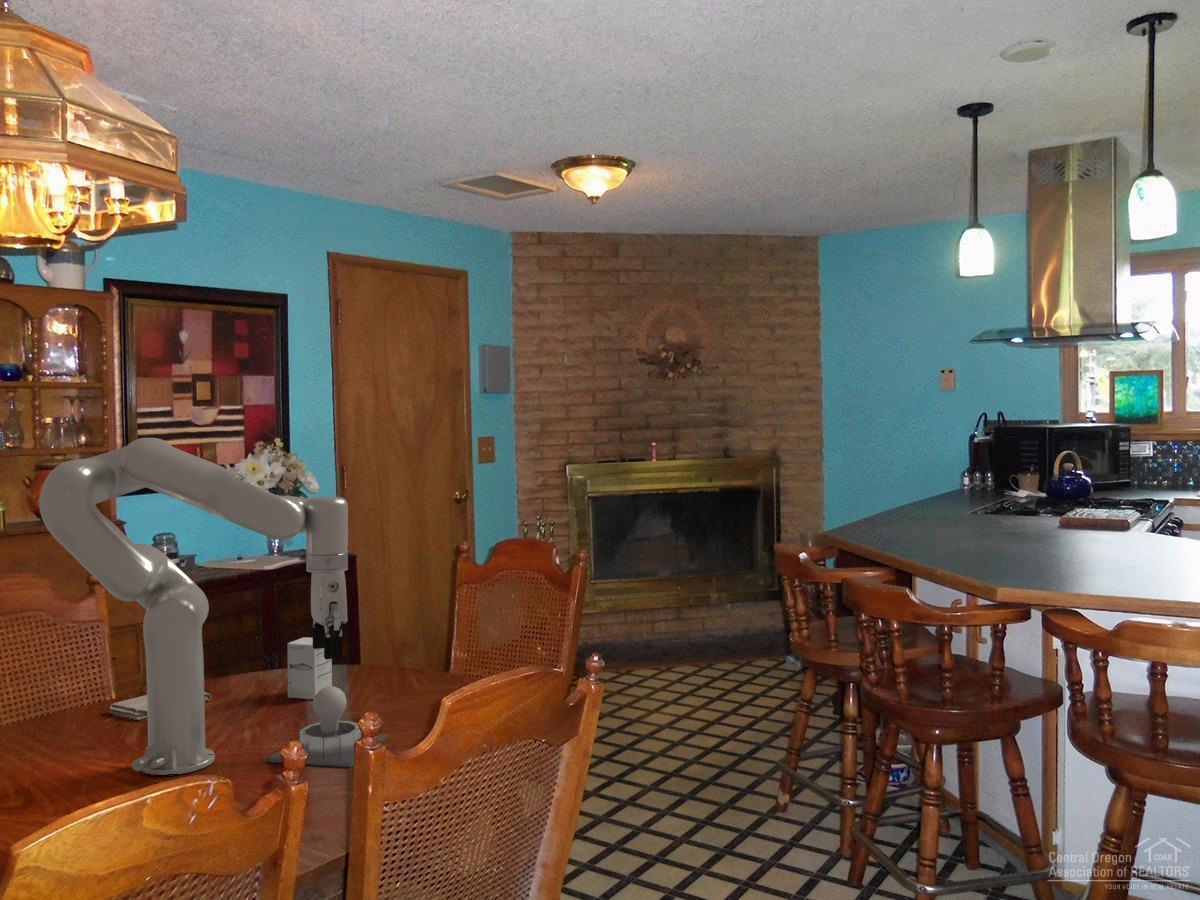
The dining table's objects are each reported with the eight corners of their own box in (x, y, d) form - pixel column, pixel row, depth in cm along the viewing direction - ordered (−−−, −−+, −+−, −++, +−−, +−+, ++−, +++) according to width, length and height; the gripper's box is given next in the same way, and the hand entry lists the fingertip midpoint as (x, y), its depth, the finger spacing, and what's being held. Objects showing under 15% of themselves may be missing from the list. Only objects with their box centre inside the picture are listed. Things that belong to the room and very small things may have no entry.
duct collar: (350, 767, 172) (350, 745, 172) (269, 762, 176) (269, 740, 176) (387, 739, 188) (387, 719, 188) (312, 735, 191) (312, 715, 191)
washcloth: (105, 716, 207) (104, 702, 207) (178, 696, 223) (178, 683, 223) (138, 724, 201) (138, 709, 201) (212, 703, 217) (212, 689, 217)
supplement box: (286, 698, 218) (285, 643, 218) (305, 690, 225) (304, 636, 225) (315, 700, 216) (314, 644, 216) (333, 692, 223) (332, 638, 223)
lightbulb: (311, 750, 178) (311, 691, 178) (313, 740, 184) (314, 683, 184) (345, 748, 180) (346, 690, 180) (346, 739, 186) (347, 682, 186)
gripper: (358, 567, 175) (358, 660, 176) (336, 556, 191) (336, 642, 191) (316, 569, 172) (316, 665, 172) (297, 558, 187) (297, 646, 187)
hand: (327, 653), depth 181 cm, fingers open, 9 cm apart
